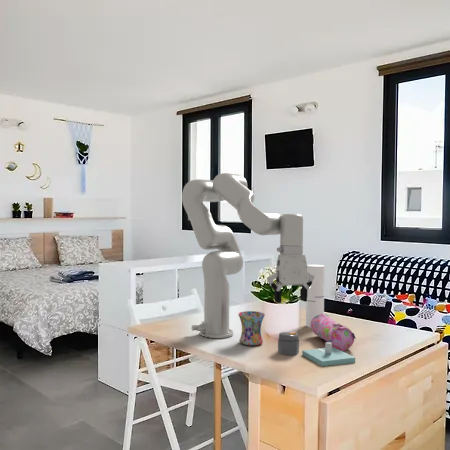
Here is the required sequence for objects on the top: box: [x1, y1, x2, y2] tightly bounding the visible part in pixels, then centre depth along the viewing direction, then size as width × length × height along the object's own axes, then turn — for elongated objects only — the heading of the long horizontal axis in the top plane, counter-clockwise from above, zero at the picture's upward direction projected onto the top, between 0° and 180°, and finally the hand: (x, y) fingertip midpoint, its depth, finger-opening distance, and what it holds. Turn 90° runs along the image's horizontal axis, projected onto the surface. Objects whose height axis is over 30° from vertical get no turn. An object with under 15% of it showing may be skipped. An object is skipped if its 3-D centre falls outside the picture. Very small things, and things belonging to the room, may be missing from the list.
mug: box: [238, 310, 266, 346], centre depth 171 cm, size 12×9×11 cm
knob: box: [277, 331, 300, 357], centre depth 160 cm, size 6×6×6 cm
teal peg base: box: [301, 341, 356, 367], centre depth 154 cm, size 12×12×5 cm
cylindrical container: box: [305, 264, 326, 329], centre depth 197 cm, size 7×7×25 cm
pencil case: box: [310, 313, 357, 352], centre depth 172 cm, size 21×9×9 cm, turn 9°
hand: (290, 301), depth 160 cm, fingers open, 9 cm apart
